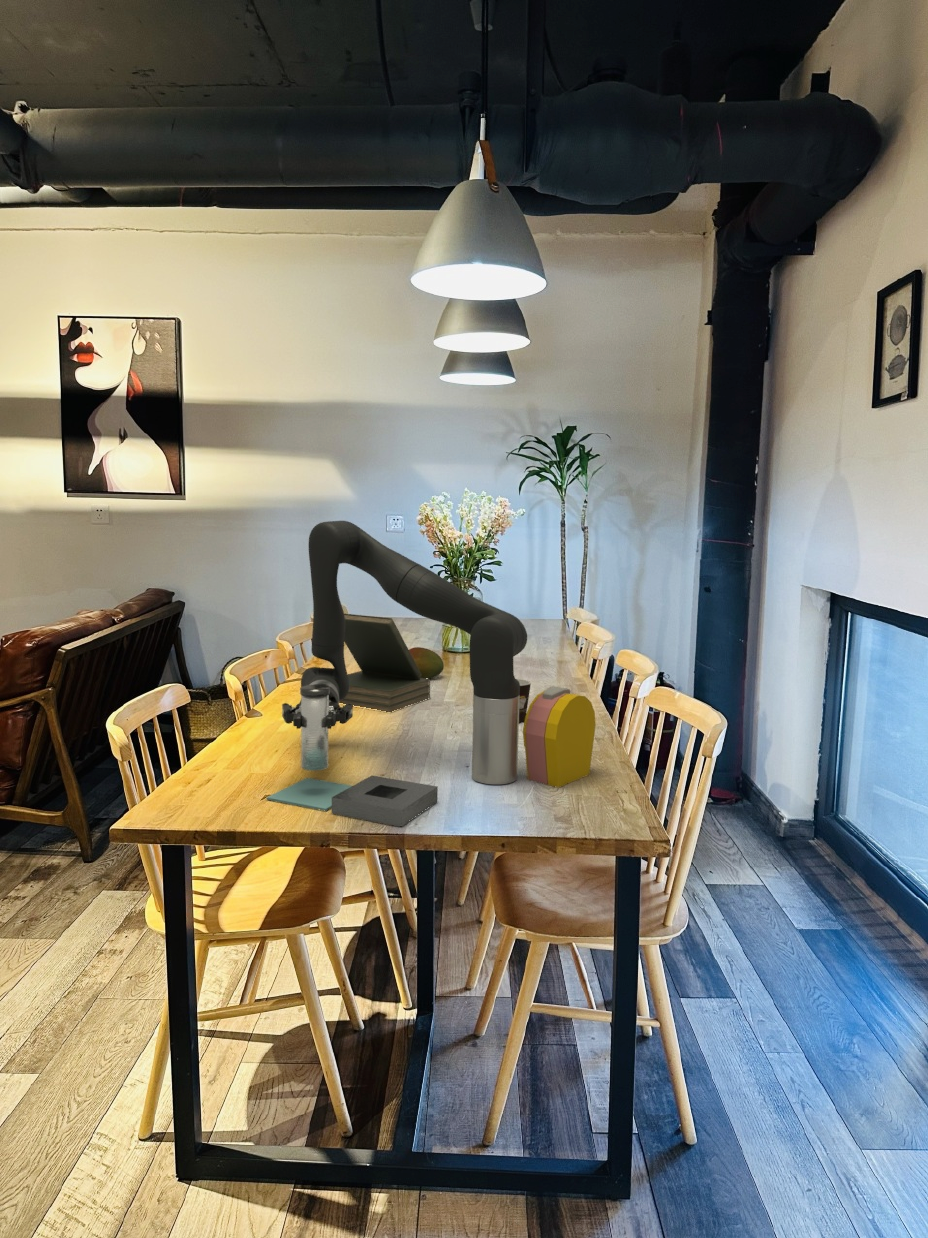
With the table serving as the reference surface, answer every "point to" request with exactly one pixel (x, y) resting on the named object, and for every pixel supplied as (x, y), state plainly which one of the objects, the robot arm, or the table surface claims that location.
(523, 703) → the coffee mug
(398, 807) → the collar block
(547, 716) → the yellow and pink lunchbox
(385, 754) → the table surface
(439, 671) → the fruit
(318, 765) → the tumbler with black lid
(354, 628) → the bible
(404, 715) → the table surface
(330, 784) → the rubber mat
